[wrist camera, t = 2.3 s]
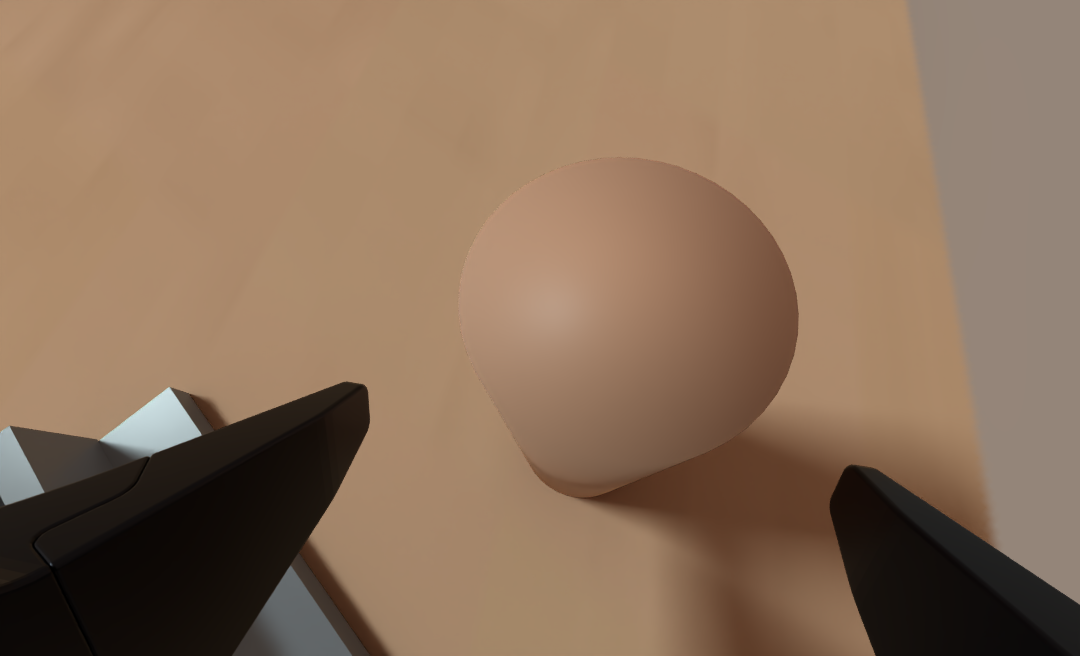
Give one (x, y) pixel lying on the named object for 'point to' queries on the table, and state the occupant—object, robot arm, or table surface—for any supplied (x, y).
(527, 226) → the peg
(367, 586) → the table surface
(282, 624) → the jig cradle
